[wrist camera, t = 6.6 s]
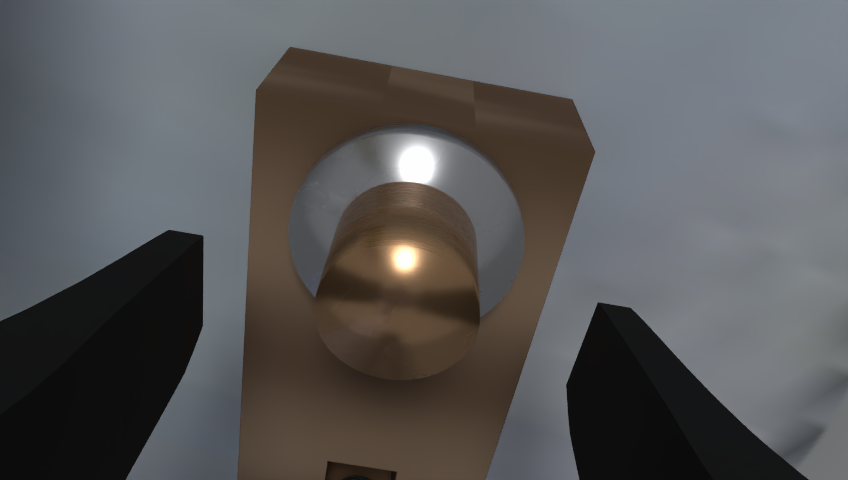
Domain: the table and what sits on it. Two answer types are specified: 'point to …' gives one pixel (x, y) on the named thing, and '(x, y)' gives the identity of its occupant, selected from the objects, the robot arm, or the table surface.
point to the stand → (294, 304)
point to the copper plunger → (404, 247)
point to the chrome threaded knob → (356, 478)
